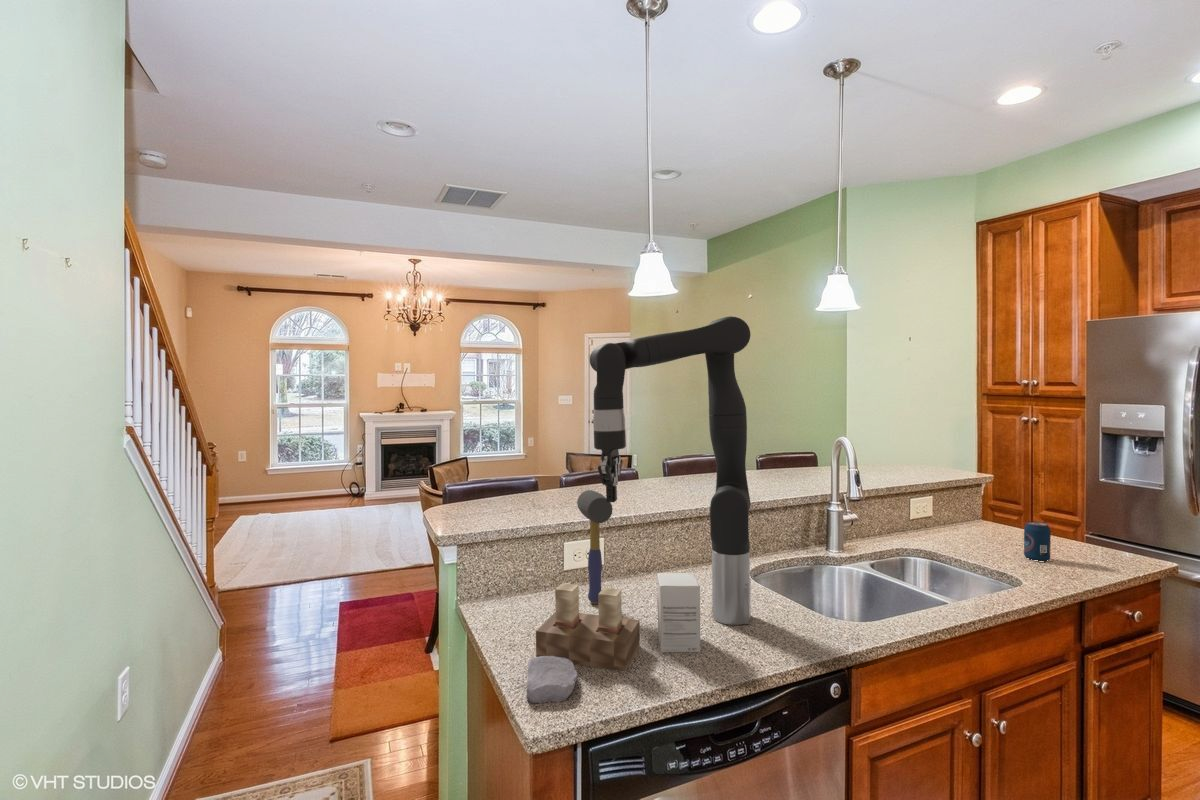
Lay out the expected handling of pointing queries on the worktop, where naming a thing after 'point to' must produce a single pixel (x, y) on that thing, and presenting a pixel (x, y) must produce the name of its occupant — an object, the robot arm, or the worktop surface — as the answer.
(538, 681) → the stone block
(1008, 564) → the worktop surface
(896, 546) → the worktop surface
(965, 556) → the worktop surface
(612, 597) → the near birch peg
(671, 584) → the supplement box
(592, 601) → the rubber mallet
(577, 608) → the far birch peg
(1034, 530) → the soda can
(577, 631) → the wooden mortise block
